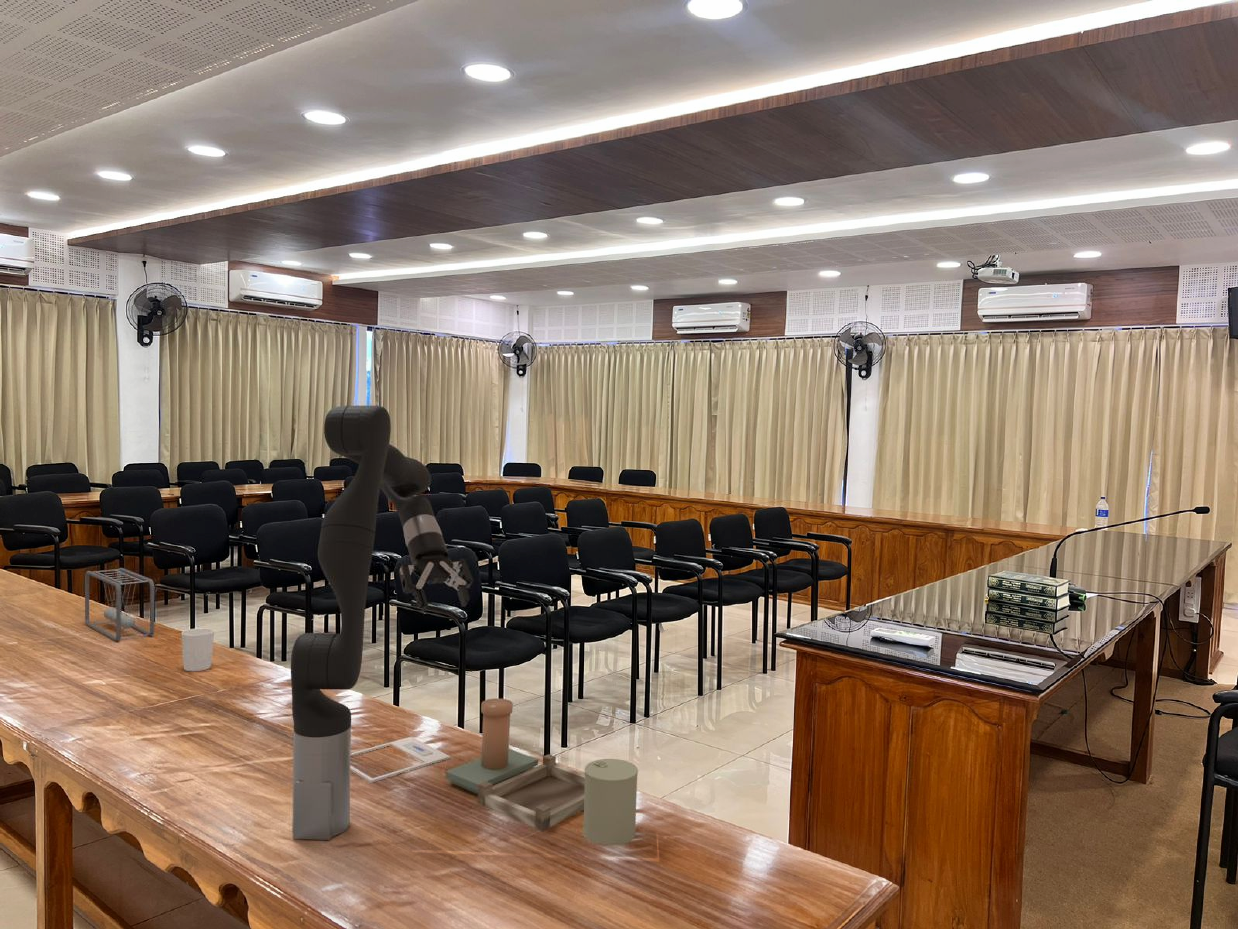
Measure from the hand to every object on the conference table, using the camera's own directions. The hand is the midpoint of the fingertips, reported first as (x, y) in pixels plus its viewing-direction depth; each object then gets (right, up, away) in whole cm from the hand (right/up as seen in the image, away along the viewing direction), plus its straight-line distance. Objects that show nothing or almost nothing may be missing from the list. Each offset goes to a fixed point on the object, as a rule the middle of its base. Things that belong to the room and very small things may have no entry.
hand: (445, 606), depth 172 cm
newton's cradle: (-122, -24, +99) cm, 159 cm away
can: (+33, -35, -25) cm, 54 cm away
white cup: (-80, -27, +63) cm, 105 cm away
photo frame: (-12, -33, +5) cm, 35 cm away
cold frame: (+21, -34, -12) cm, 42 cm away
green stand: (+10, -33, -4) cm, 35 cm away
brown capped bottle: (+10, -30, -4) cm, 32 cm away
